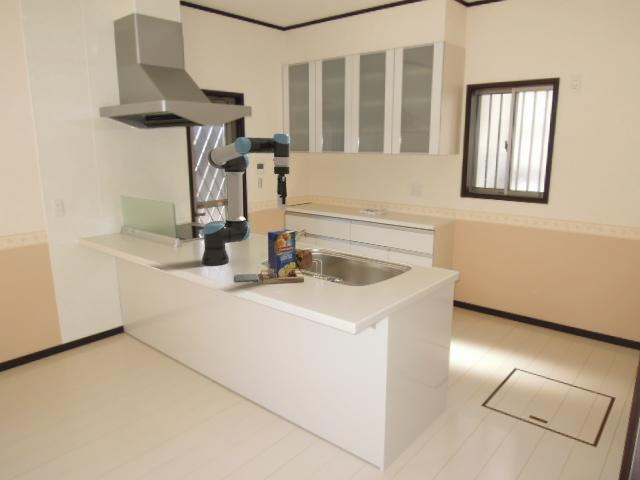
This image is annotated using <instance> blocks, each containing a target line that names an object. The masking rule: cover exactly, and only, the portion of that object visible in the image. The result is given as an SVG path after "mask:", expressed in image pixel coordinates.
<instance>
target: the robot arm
mask: <svg viewBox="0 0 640 480" xmlns="http://www.w3.org/2000/svg"><path fill="white" fill-rule="evenodd" d="M290 142H291V141H290V135H289V134H288V133H274V134H273V137H246V136H241V137H237V138H236V139H235V141H234V142H233V143H230V144H227V145H225V146H222V147H220V146H218V147H214V148H212V149H211V150H210V151H209V152H208V154H207V161H208V163H209V164H210V166H211V167H213V168H215V169H217V170H224V171H223V172H224V174H226V176H227V179H226V180H227V182H226V183H227V211H228V212H227V215H228V216H227V217H226V218H225V220H224V221H223V220H215V221H209V222H206V223H205V225H204V226H203V240H204V241H203V245H204V246H203V247H204V252H203V254H202V258H201V264H202V265H205V266H221V265H222V266H223V265H227V264H229V263H230V261H229V260H230V258H229V255H228V253H227V250H226V244H228V243H237V242H243V241H246V240H248V239H249V236H250V234H251V226H250V223H249V222H248V221H247V219H246V218H245V216H244V194H243V193H244V192H243V190H244V187H243V175H244V173H246V169H248V168H249V165H250V159H249V154H273V158H272V161H273V165H274V166H273V174H274V175H277V179H276V180H277V184H276V193H277V208H280V212H287V196H288V192H287V177H286V176H285V175H290Z"/></svg>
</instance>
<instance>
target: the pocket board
mask: <svg viewBox="0 0 640 480" xmlns="http://www.w3.org/2000/svg"><path fill="white" fill-rule="evenodd" d="M260 275H261V279H262V281H263V282H262V283H263V284H265V285H266V284H281V283H282V284H283V283H305V277H304V275H303V274H302V272H301V269H295V277H282V278H269V275H268V269H261V270H260Z"/></svg>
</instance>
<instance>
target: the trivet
mask: <svg viewBox="0 0 640 480" xmlns="http://www.w3.org/2000/svg"><path fill="white" fill-rule="evenodd" d="M234 279H235V283H248V282H249V281H253V282H259V278H258V274H257V273H244V274H243V273H242V274H241V273H239V274H235V275H234ZM249 283H250V282H249Z"/></svg>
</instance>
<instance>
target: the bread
mask: <svg viewBox="0 0 640 480" xmlns="http://www.w3.org/2000/svg"><path fill="white" fill-rule="evenodd" d="M313 258H314V257H313V253H312V251H310V250H308V249H301V248H295V269H299V270H305V269H308V268H311V267H312V265H313Z"/></svg>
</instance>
